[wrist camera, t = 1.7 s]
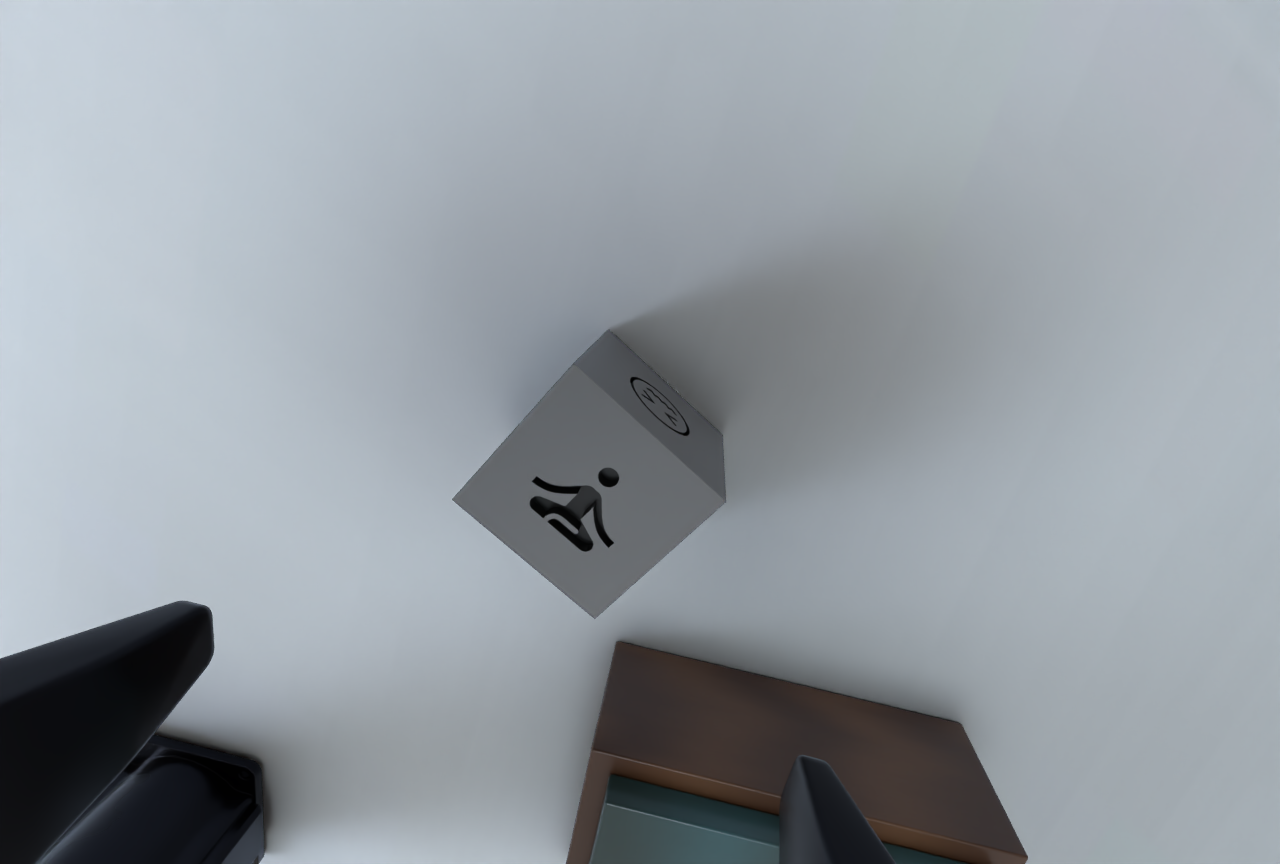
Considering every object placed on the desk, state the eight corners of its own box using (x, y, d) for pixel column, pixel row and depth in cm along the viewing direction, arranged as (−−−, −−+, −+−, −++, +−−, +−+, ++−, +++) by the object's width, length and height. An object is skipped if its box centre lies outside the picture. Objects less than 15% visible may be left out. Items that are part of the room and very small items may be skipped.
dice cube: (512, 436, 20) (451, 499, 16) (608, 329, 19) (573, 363, 14) (621, 531, 21) (594, 619, 16) (722, 435, 19) (726, 501, 15)
